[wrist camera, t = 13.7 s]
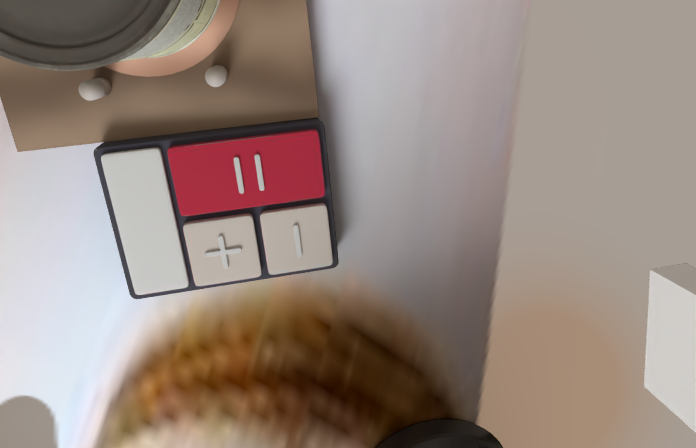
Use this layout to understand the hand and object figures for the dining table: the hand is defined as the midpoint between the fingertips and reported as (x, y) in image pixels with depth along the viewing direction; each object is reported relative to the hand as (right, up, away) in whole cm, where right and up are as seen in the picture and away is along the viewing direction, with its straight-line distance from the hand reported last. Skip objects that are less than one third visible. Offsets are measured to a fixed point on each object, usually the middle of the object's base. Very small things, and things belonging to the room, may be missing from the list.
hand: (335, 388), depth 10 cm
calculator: (-9, +5, +29) cm, 31 cm away
